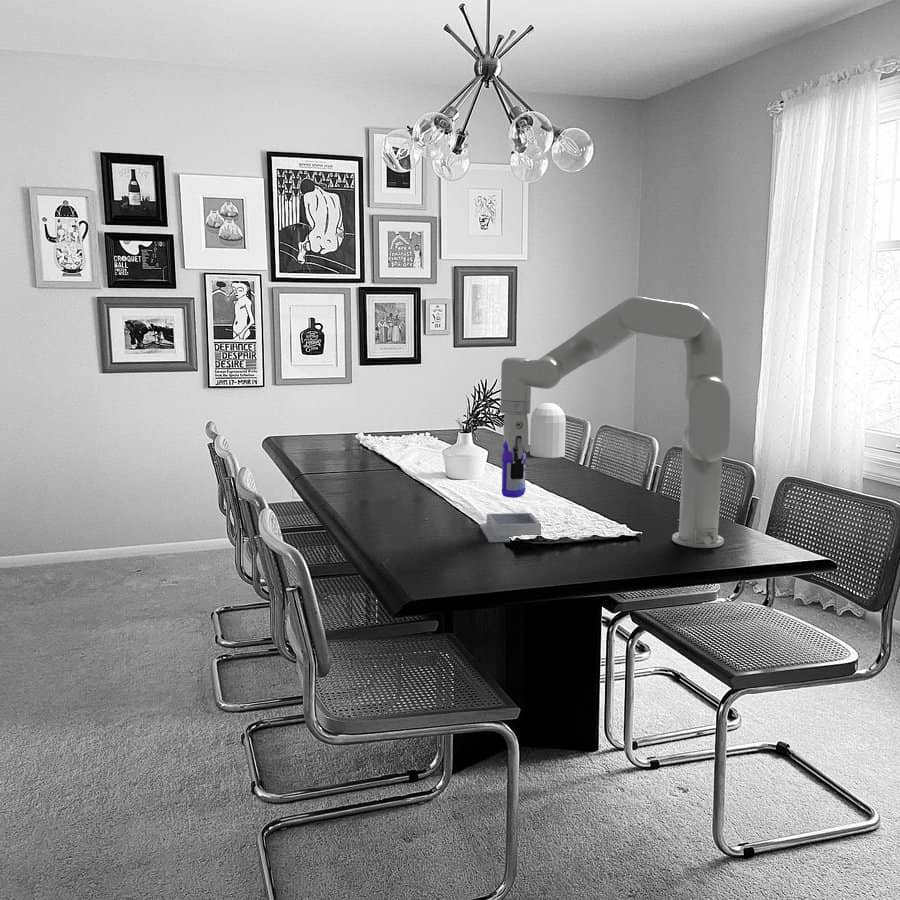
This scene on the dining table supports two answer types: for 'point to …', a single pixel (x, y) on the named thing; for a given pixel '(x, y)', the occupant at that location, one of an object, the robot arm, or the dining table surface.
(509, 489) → the bottle
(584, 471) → the dining table surface
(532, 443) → the container
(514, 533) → the shallow grey tray
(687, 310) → the robot arm
